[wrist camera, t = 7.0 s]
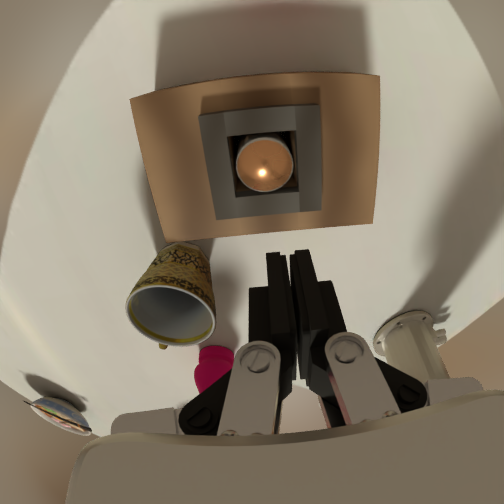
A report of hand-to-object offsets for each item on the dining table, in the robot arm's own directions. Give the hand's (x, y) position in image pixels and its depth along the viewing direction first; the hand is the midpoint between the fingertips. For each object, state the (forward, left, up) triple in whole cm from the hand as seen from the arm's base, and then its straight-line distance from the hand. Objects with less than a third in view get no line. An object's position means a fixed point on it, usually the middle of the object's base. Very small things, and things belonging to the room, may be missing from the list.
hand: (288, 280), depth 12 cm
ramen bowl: (+71, +69, -22) cm, 101 cm away
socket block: (0, 0, -21) cm, 21 cm away
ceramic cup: (+12, +16, -21) cm, 29 cm away
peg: (0, 0, -21) cm, 21 cm away
